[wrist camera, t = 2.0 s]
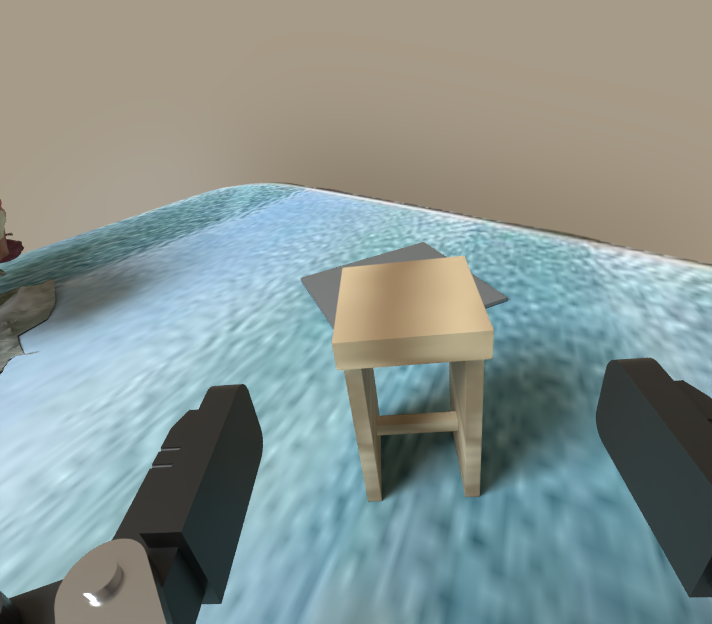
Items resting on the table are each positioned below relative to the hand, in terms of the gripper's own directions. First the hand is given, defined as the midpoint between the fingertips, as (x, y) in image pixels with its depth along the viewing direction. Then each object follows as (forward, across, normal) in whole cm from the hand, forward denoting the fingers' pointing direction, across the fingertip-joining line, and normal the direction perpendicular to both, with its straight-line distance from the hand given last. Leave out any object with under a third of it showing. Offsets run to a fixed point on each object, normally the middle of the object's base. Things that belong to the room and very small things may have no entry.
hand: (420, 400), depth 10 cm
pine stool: (+12, 0, +16) cm, 19 cm away
